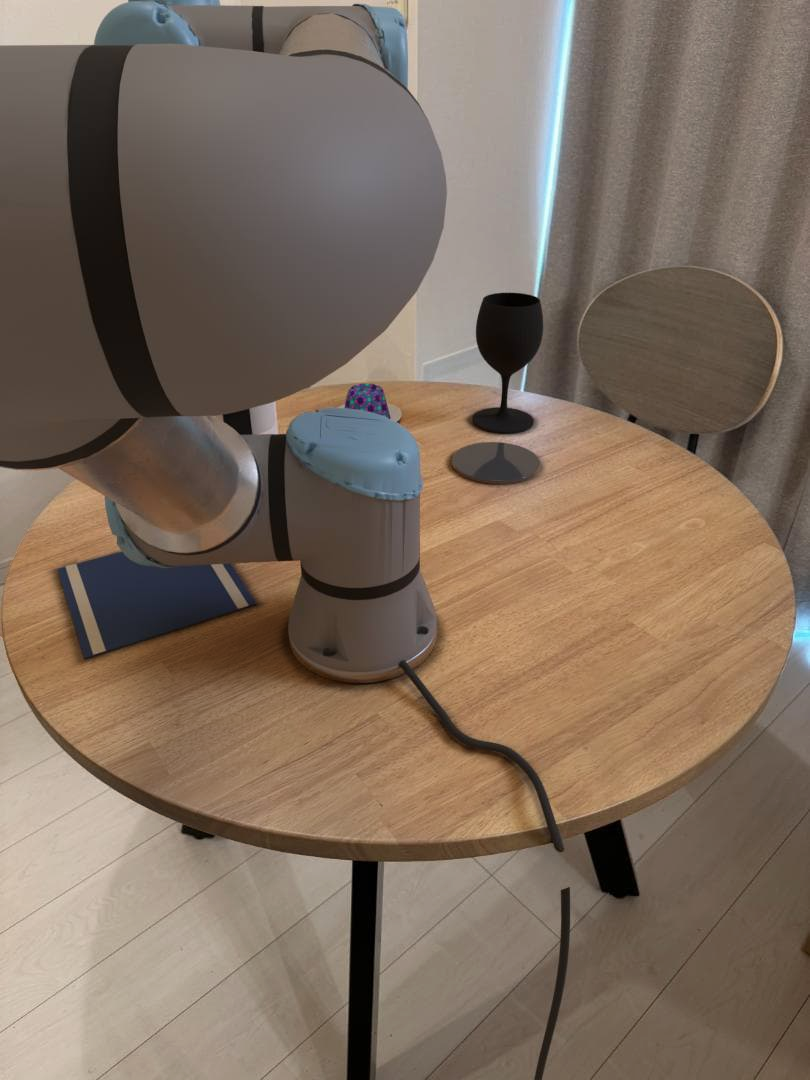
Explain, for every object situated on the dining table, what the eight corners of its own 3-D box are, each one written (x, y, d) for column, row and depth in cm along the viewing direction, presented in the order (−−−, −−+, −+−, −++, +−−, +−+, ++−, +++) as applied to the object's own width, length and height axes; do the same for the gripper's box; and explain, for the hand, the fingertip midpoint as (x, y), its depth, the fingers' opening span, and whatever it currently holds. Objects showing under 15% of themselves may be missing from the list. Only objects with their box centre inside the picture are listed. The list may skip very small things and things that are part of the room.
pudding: (392, 436, 118) (392, 405, 115) (321, 429, 121) (319, 398, 118) (409, 408, 128) (409, 379, 125) (343, 402, 130) (342, 373, 128)
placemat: (256, 604, 81) (256, 602, 81) (84, 659, 73) (83, 657, 73) (207, 530, 94) (207, 528, 94) (57, 570, 86) (57, 568, 86)
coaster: (555, 476, 106) (556, 472, 106) (473, 490, 103) (473, 486, 102) (514, 440, 117) (515, 436, 116) (438, 452, 113) (438, 449, 113)
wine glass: (466, 430, 120) (472, 306, 109) (476, 407, 128) (482, 289, 118) (530, 437, 118) (543, 310, 107) (536, 412, 126) (548, 293, 116)
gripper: (147, 183, 75) (184, 399, 87) (174, 209, 60) (214, 466, 72) (221, 180, 77) (247, 390, 89) (265, 204, 62) (289, 453, 74)
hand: (232, 424), depth 81 cm, fingers closed on mug, 6 cm apart
